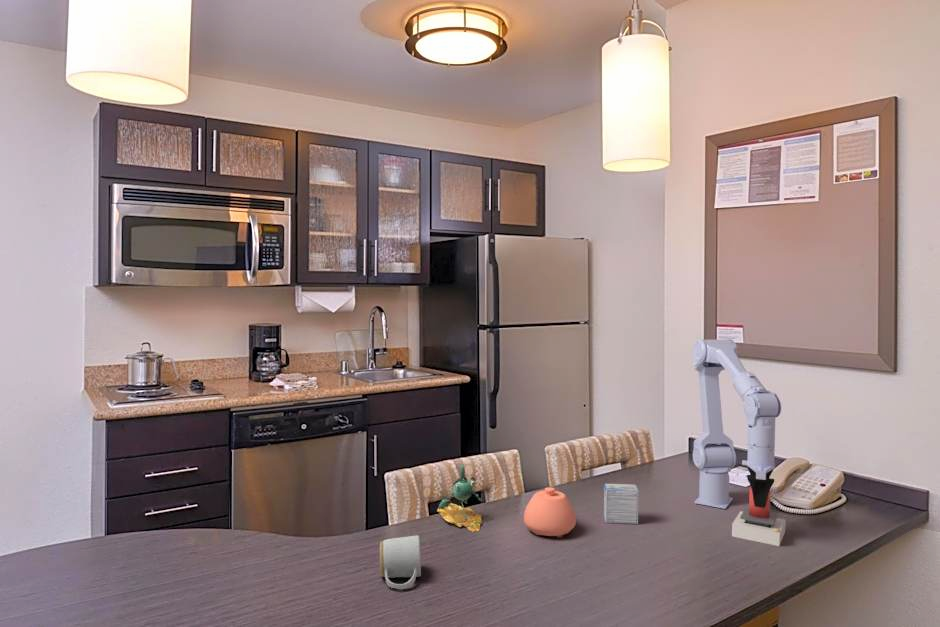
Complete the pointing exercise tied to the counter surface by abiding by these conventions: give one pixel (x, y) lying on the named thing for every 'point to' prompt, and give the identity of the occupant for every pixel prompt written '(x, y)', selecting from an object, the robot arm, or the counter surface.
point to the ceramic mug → (400, 560)
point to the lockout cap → (759, 511)
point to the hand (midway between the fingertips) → (759, 501)
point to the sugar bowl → (549, 513)
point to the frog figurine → (458, 513)
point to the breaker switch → (759, 519)
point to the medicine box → (621, 503)
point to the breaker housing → (759, 531)
